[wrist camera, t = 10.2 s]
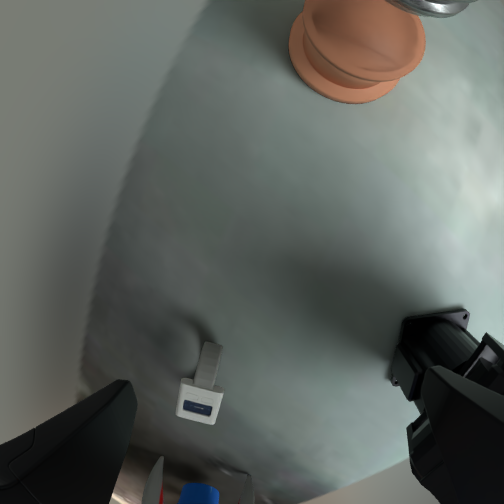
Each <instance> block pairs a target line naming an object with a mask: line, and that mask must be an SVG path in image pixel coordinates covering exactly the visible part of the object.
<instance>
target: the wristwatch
mask: <svg viewBox="0 0 504 504" xmlns="http://www.w3.org/2000/svg"><path fill="white" fill-rule="evenodd" d="M222 349H223V347H222V345H219V344H215V343H211V342H207V341H206V342H205V343H204V345H203V348H202V351H201V354H200V358H199V361H198V365H197V369H196V373H195V377H194V380H193V379H189V378H182V379H181V384H180V389H179V395H178V401H177V407H176V415H177V416H179V417H183V418H187V419H190V420H194V421H198V422H202V423H206V424H211V425H212V424H214V423H215V421H216V417H217V414H218V411H219V407H220V404H221V400H222V397H223V394H224V388H222V387H220V386H216V385H214V383H215V379H216V375H217V371H218V367H219V362H220V358H221V354H222Z"/></svg>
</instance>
